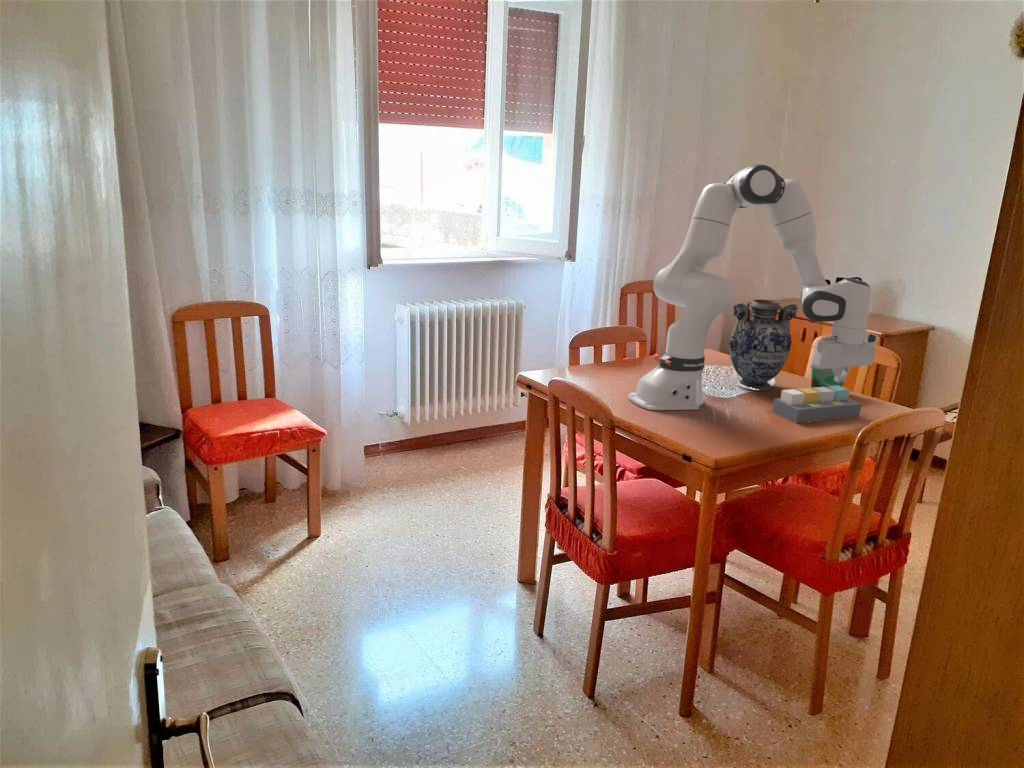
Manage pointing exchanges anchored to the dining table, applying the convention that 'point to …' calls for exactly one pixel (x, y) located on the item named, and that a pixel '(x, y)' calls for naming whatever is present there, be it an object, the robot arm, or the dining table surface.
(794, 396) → the cream key
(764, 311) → the decorative vase
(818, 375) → the food container
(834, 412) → the keypad
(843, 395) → the teal key
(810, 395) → the ochre key
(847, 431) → the dining table surface
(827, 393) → the grey key
